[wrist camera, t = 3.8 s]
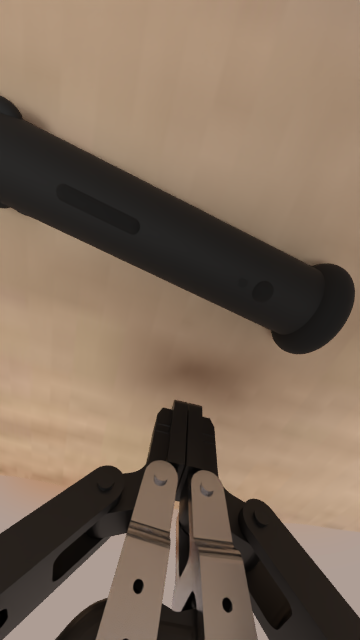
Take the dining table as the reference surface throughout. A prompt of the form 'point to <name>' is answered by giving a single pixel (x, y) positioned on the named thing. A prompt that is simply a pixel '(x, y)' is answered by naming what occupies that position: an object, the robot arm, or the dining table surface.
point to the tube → (169, 237)
